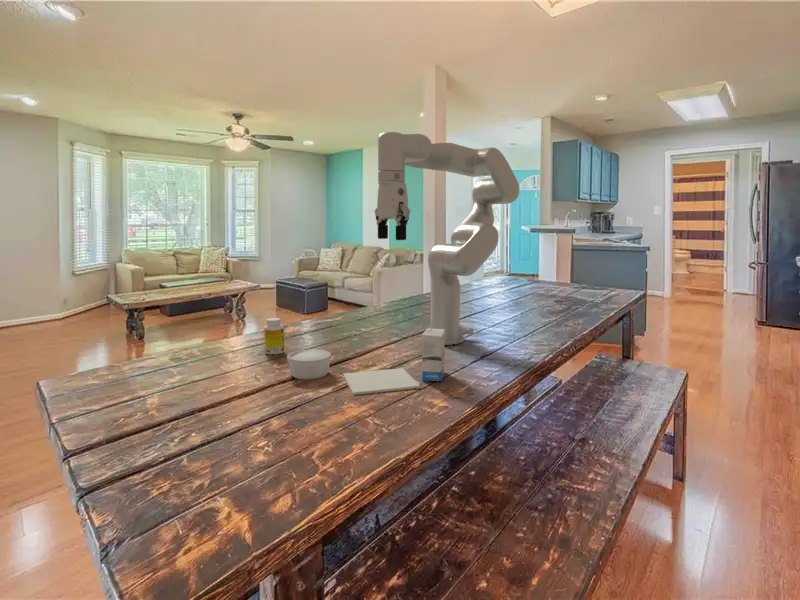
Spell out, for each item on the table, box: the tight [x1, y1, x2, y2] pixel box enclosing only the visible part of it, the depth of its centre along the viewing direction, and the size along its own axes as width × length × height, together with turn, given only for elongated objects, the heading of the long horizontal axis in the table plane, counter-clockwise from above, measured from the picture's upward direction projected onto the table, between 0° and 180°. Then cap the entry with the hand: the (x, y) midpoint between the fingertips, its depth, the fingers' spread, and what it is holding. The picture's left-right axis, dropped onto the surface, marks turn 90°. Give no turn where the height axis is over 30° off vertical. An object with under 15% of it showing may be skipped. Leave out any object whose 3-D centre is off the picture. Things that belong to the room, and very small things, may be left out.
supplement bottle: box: [263, 317, 285, 355], centre depth 144 cm, size 6×6×10 cm
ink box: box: [421, 327, 446, 383], centre depth 122 cm, size 9×5×12 cm, turn 168°
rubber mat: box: [342, 367, 421, 396], centre depth 119 cm, size 16×14×1 cm
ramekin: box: [286, 348, 332, 380], centre depth 125 cm, size 11×11×5 cm
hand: (391, 239), depth 140 cm, fingers open, 9 cm apart
